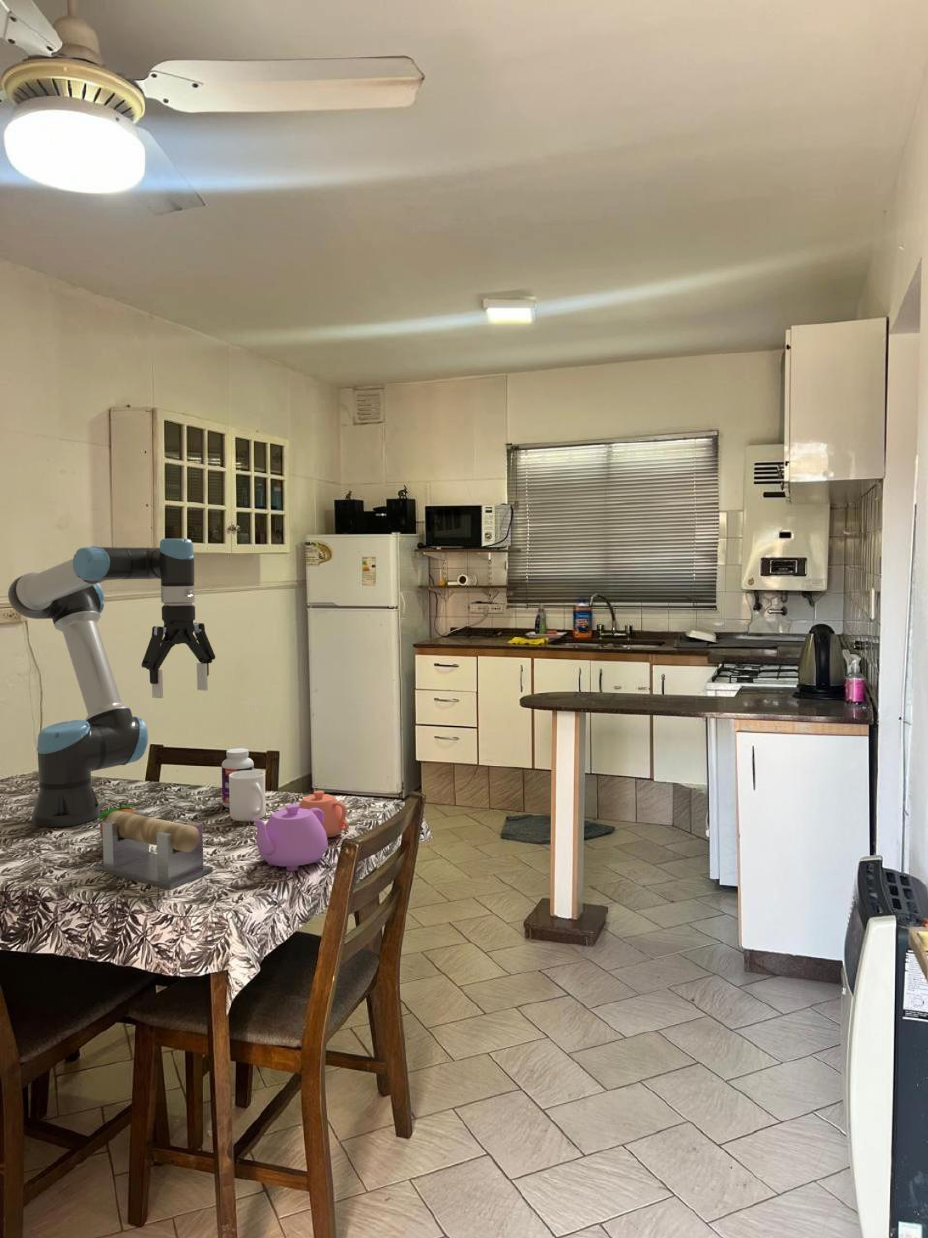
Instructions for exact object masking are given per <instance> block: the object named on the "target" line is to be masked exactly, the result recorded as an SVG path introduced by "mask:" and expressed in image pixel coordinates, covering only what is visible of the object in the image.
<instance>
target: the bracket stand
mask: <svg viewBox="0 0 928 1238" xmlns="http://www.w3.org/2000/svg"><path fill="white" fill-rule="evenodd" d="M135 811H136V810H135ZM133 813H134V814H136V815H141V816H145V817H149V813H148V812H146V811H145V812H144V811H139V810H137V811H136V812H133ZM186 825H190V826H194V827H196V828H197V829H198V831H199V842H198V844H197V846H196V847H195V849H194V850H192V851H190V852H184V851H179V850H175V849H173V846H172V834H169V833H164V832H160V833H157V845H156V853H154V852H150V844H148V843H144V842H140V841H135V840H131V839H126V838H122V837H118V835H117V822H113V821H108V820H107V821H104V822H102V828H103V839H102V849H103V851H102V853H103V855H102V856H103V857H102V858H103V862H101V863H98V864H94V871H96V870H98V871H97V872H100V871H102V872H101V873H104V872H106V873H105V874H107V873H109V875H111V874H113V875H112V876H115V875H116V876H115V877H120V878H123V879H128V880H131V881H134V882H139V883H142V884H146V885H150V886H154V887H158V888H163V889H165V890H168V891H170V890H172V889H175V888H178V887H179V886H180V887H181V886H183V885H184V884H187V883H191V882H192V881H194V880H197V879H200V878H201V877H204V876H206V875H208V874H212V873H213V871H214V869H213V866H211V865H210V866H209V865H205V864H204V844H203V840H204V839H203V823H200V822H195V821H190V822H187V823H186Z"/></svg>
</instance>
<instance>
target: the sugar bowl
mask: <svg viewBox="0 0 928 1238" xmlns="http://www.w3.org/2000/svg"><path fill="white" fill-rule="evenodd" d="M298 805H299V808H302V809H308V810H310V809H311V808H318V809H320V810H322V811H323V813H324V823H323V828H324V830H325V831H326V834H327V836H326V837H327V839H328V838H329V839H330V838H333V837H337V836H339V835H340V834H341V833H342V832H344V831H345V832H346V831H347V830H349V828H350V824H349V822H347V818H346V816H347V812H348V811H347V809H348V808H347V806H346V805H345V803H343V802H341V801H338V799H337V798H336V797H335V796H334V795H331V794H329V793H325V791H323V790H316V791H315V790H314V791H313V794H311V795H307V796H305V797H303V798H302V800H301V801H300V802H299V804H298ZM314 814H315V815H316V817H317V818H318V813H317V812H315V813H314Z"/></svg>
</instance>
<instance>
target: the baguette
mask: <svg viewBox="0 0 928 1238" xmlns="http://www.w3.org/2000/svg"><path fill="white" fill-rule="evenodd" d="M107 820H108V821H113V822H117V835H118V837H122V838H126V839H131V840H135V841H140V842H144V843H148V844H149V845H154V846H157V833H160V832H164V833H169V834H172V846H173V849H175V850H179V851H184V852H190V851H192V850H194V849H195V847H196V846H197V844H198V842H199V831H198V829H197V828H196V827H194V826H190V825H187V824H185V823H184V824H183V823H180V822H173V821H169V820H165V819H159V818H155V817H150V816H148V817H145V816H141V815H136V814H131V813H126V812H121V811H114V812H112V813H110V814H109V815H108V817H107V819H106V821H107Z"/></svg>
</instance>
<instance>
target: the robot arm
mask: <svg viewBox="0 0 928 1238" xmlns="http://www.w3.org/2000/svg"><path fill="white" fill-rule="evenodd" d="M75 552H76V553H74V555H73V558H71V559H69V560H66V561H64V562H62V563H58V564H57V565H55V566H52V567H51V568H50V567H49V568H48V569H46V570H45V569H44V570H43V571H41V572H27V573H25V574H23V575H21V576H19V577H17V578H16V579H14V581H12V583H11V584H10V586H9V588H8V592H7V597H8V602H9V604H10V606H11V607H12V609H13V610H14V611H15V612H17V613H18V614H20V615H21V616H23V617H26V618H29V619H35V620H45V619H46V620H47V619H52V622H53V626H54V628H55V630H57V631H60V632H61V633H62V634H63V638H64V640H65V644H66V647H67V650H68V653H69V657H70V661H71V663H72V666H73V670H74V673H75V676H76V680H77V683H78V686H79V689H80V693H81V697H82V699H83V700H82V701H83V702H84V706H85V709H86V712H87V716H86V717H85V719H84V720H83V719H74V720H69V721H67V720H65V721H62V722H57V723H54V724H50V725H48V726H46V727H44V728H43V729H41V731H39V733H38V735H37V736H38V737H37V746H36V751H37V763H38V764H37V765H38V785H39V787H38V789H39V790H38V795H37V797H36V800H35V803H34V808H33V810H32V814H31V815H32V816H31V817H32V818H31V819H32V824H33V825H35V826H38V827H44V828H45V827H46V828H58V827H69V826H75V825H76V826H77V825H81V824H86V823H88V822H91V821H93V820H96V819H97V818H98V817H99V816H100V815H101V810H100V809H101V808H100V804H99V802H98V798H97V795H96V793H95V791H94V789H93V786H92V772H95V771H99V770H104V769H109V768H114V767H118V766H119V767H120V766H126V765H127V764H132V763H135V762H137V761H139V760H140V759H141V758H142V757H143V756H144V755H145V753H146V751H147V747H148V742H149V733H148V727H147V725H146V722H145V721H144V720H143V719H142V718H141V717H138V716H133V713H132V710H131V708H130V707H129V706H127V705H125V704H123V703H122V699H121V696H120V692H119V690H118V686H117V683H116V680H115V677H114V674H113V670H112V668H111V664H110V662H109V658H108V655H107V651H106V649H105V646H104V642H103V640H102V636H101V633H100V630H99V627H98V622H99V620H100V619H101V613H102V612H103V610H104V607H105V602H104V600H105V595H104V590H103V588H102V586H101V583H103V582H106V581H110V580H111V581H115V580H117V581H118V580H159V579H160V597H161V598H160V600H161V601H160V602H161V604H163V605H162V606H161V620H162V622H163V626H156V625H155V626H152V629H151V636H150V640H149V642H148V645H147V648H146V651H145V654H144V656H143V659H142V662H141V665H140V666H141V668H145V669H146V670H149V683H150V684H151V693H152V695H151V697H152V698H154V699H163V698H164V685H163V679H164V677H163V669H160V668H161V666H162V665H163V663H164V661H165V659H166V658H167V656H168V655H169V653H170V652H171V649H173V647H175V645H181V644H184V645H186V646H187V647H188V648H189V650H190V651H191V652H192V653H193V655H194V656H195V658H196V659H197V660H198V663H196V684H197V685H196V686H197V687H196V689H197V691H208V689H209V688H208V686H209V685H208V677H209V675H210V670H209V669H210V667H209V665H210V664H212V663H213V660H216V654H215V653H214V652H215V651H213V650H214V649H213V647H212V646H211V642H210V640H209V638H208V635H207V633H206V628H205V623H204V622H202V623H201V622H194V621H195V620H196V606H195V604H193V603H195V602H196V597H195V594H196V593H195V592H196V591H195V554H194V553H195V552H194V543H193V541H192V540H191V539H190V538H162V539H161V540H160V541H159V547H143V546H142V547H111V546H108V547H107V546H106V547H105V546H89V547H87V546H86V547H84V546H83V547H80V548H78V549H77V550H76V551H75Z"/></svg>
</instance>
